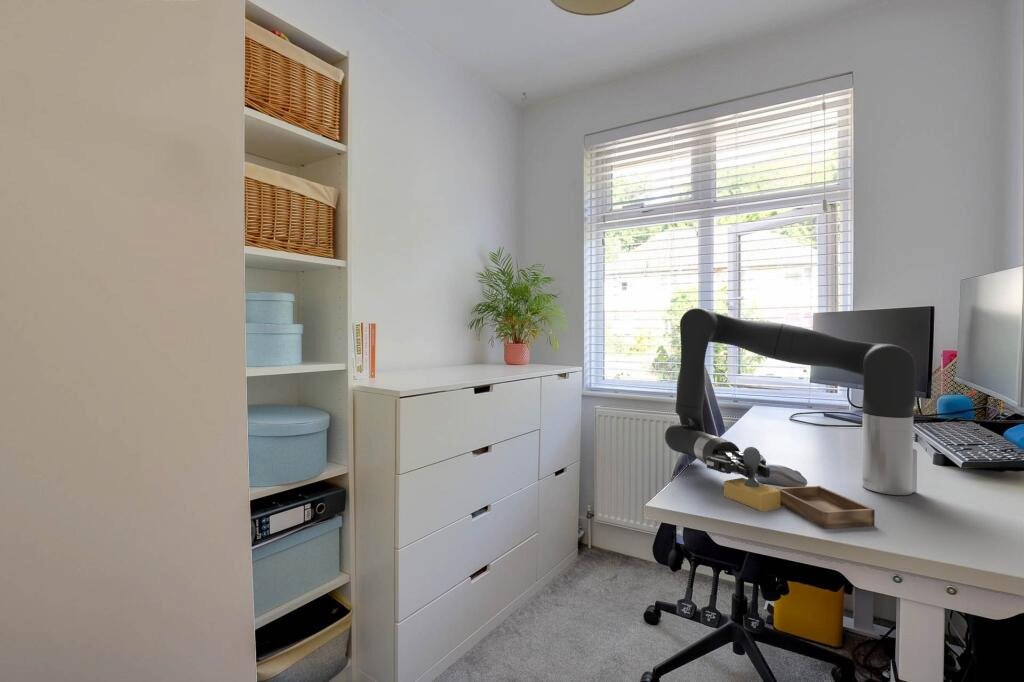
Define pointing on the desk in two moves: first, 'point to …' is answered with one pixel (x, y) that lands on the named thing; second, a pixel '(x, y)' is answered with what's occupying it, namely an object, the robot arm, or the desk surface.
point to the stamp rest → (826, 507)
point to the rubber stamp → (752, 486)
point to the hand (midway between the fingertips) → (759, 473)
